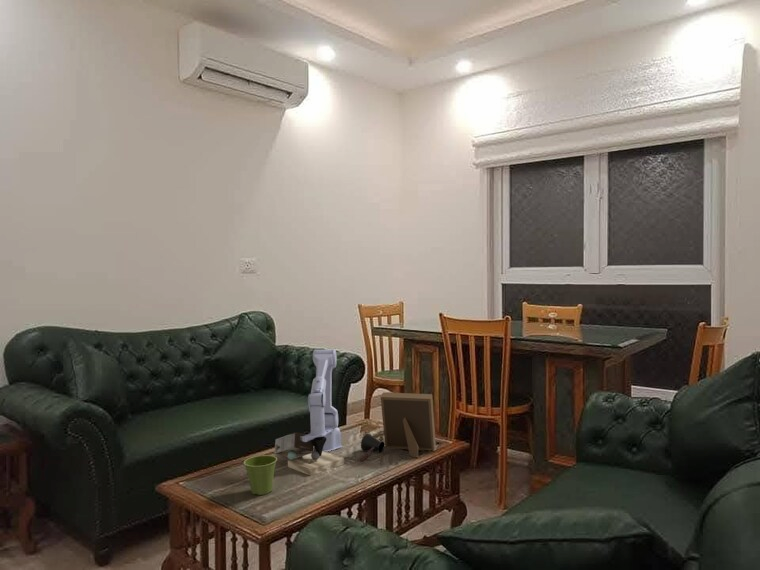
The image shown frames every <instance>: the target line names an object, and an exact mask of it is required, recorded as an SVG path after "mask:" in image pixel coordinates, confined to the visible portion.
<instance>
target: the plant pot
mask: <svg viewBox="0 0 760 570" xmlns="http://www.w3.org/2000/svg"><path fill="white" fill-rule="evenodd" d="M277 461H278V458H277V456H274V455H272V454H271V455H270V454H262V455H257V456H256V455H255V456H252V457H249V458H246V459H245V460H244V461H243V465H244V467H245V470H246V473H247V476H248V482H249V486H250V491H251V493H252V494H253V495H258V496H263V495H268V494H270V492H272V491H273V485H274V476H275V475H274V474H275V468H276V463H277Z"/></svg>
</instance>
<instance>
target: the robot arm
mask: <svg viewBox="0 0 760 570" xmlns="http://www.w3.org/2000/svg"><path fill="white" fill-rule="evenodd" d="M312 362H313V364H314V366H315V367H316V373H315V377H314V378H313V380H312V384H311V390H310V393H308V396H307V403H308V404H307V405H308V412H309V413H310V414H309V415H310V417H309V418H310V420H309V421H310V422H309V423H310V433H308V434H307V435H305V436H302V441H303V442H307V441H309V440H310V441H311V442H312V444H313V449H314V451H317V452H318V453H319V456H321V454H322V451H324V452H327V453H329V452H332V451H335V450H337V449H342V448H343V446H342V438H341V437H342V433H341V429H340V428H339V427H338V426H339V413H338V412H339V411H338V409H336V408H335V407H334V406H332V405H333V404H332V403H333V402H332V389H333V388H332V386H333V384H332V381H333V380H332V377H333V376H332V374H333V373H332V372H333V370H334V369H335V368H337V362H338V361H337V350H336V349H335V348H333V349H317V348H316V349H314V350H313V352H312ZM331 450H332V451H331ZM328 451H329V452H328Z"/></svg>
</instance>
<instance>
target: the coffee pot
mask: <svg viewBox="0 0 760 570" xmlns="http://www.w3.org/2000/svg"><path fill="white" fill-rule="evenodd" d="M360 448H361V450H362V451H364V452H365V451H366V452H365V453H364V454H363V455H362V456H359V458H358V459H357V460H358V461H359V462H364V461H365V460H366V459H367V458H368V456H369V455H370V454H371V453H372V452H377V453H379V454H381V453H383V452H384V450H385V441H381V440H379V439H377V438H376V437H374V435H372V434H371V433H365V434H364V435H363V436H362V439H361V442H360Z"/></svg>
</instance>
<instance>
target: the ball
mask: <svg viewBox="0 0 760 570" xmlns="http://www.w3.org/2000/svg"><path fill="white" fill-rule="evenodd" d="M311 453H312V454H311ZM311 453H310V454H311V457H312V459H314V460H317V459H318V458H319V457H320V456H319V453H318V452H317V451H315V450H313V451H311Z"/></svg>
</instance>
